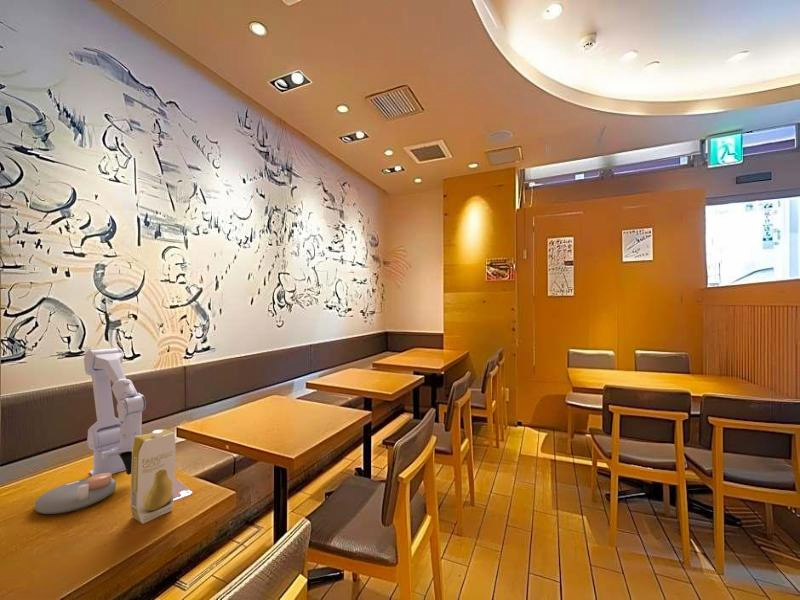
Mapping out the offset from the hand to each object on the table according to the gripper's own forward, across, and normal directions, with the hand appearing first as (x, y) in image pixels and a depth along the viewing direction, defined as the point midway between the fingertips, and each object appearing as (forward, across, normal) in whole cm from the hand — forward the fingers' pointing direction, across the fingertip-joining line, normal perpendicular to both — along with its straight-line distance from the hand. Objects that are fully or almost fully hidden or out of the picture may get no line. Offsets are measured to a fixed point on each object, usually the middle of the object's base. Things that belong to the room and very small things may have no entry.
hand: (129, 473), depth 115 cm
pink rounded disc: (+1, -8, 0) cm, 8 cm away
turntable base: (+3, -13, 0) cm, 13 cm away
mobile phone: (+4, +7, -16) cm, 18 cm away
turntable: (+2, -13, 0) cm, 13 cm away
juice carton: (+4, -1, -26) cm, 26 cm away
